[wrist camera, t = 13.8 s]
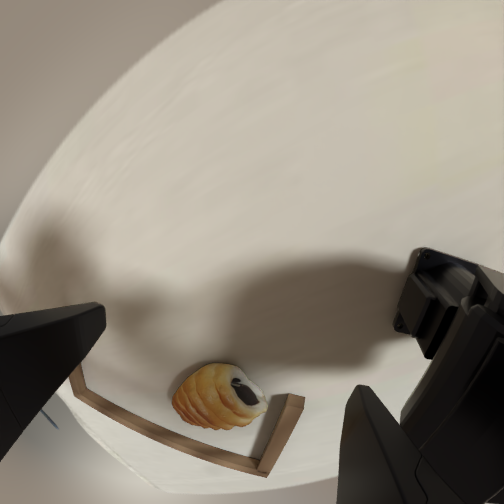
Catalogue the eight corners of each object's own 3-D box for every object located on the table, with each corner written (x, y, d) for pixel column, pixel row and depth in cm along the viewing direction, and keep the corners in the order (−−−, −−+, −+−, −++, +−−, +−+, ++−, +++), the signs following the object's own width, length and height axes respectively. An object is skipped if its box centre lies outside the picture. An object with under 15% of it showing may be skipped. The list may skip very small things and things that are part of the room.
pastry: (206, 424, 27) (193, 448, 23) (163, 381, 27) (145, 404, 23) (276, 399, 24) (268, 429, 20) (229, 348, 23) (213, 375, 20)
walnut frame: (305, 397, 23) (303, 408, 21) (269, 468, 27) (266, 477, 26) (63, 306, 27) (54, 311, 26) (80, 390, 31) (74, 396, 30)
